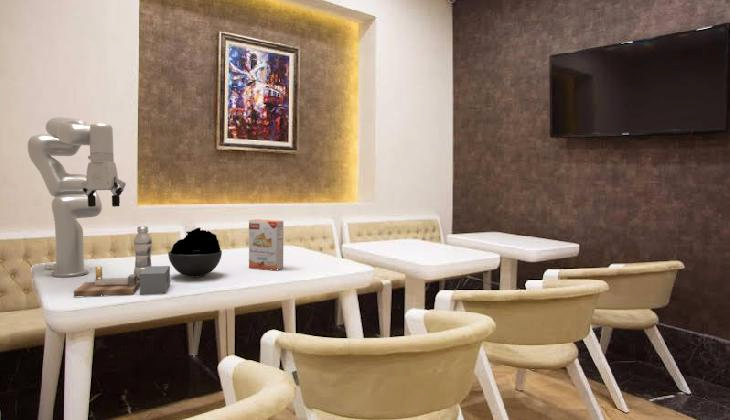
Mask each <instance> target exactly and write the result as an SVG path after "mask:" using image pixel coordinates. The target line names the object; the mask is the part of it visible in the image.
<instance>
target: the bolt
mask: <svg viewBox="0 0 730 420" xmlns="http://www.w3.org/2000/svg"><path fill="white" fill-rule="evenodd" d="M94 282H95V285H102V284H128V277H106V278H103V267H101V266H99V267H98V266H96V267H95V279H94Z"/></svg>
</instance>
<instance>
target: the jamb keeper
mask: <svg viewBox="0 0 730 420" xmlns="http://www.w3.org/2000/svg"><path fill="white" fill-rule="evenodd" d="M139 281H140V287H139V295H164V294H166V293H167V291H168V289H169V288H170V286H171V266H170V265H157V266H156V265H154V266H153V265H151V266H149V267H145V268H144V270H143V271H142V272H141V273H140V279H139Z"/></svg>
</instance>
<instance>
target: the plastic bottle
mask: <svg viewBox="0 0 730 420" xmlns="http://www.w3.org/2000/svg"><path fill="white" fill-rule="evenodd" d="M136 232H137V234H136V236H135V238H134V239H133V245H134V254H135V262H134V269H133V274H137V279H138V280H140V273H141V272H142V271H143V270H144V268H145V267H149V266H152V259H151V258H152V247H153V238H152V237H151V235H150V234H149V227H148V226H137V230H136Z"/></svg>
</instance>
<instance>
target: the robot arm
mask: <svg viewBox="0 0 730 420" xmlns="http://www.w3.org/2000/svg"><path fill="white" fill-rule="evenodd" d="M45 130H46V132H47V134H37V135H33V136H31V137H30V138H29V139H28V141H27V153H28V156H29V159H30V161H31V162H32V164H33V165H34V167H36V169H37V170H38V171H39V174H40V175H41V178H42V179H43V182H44V184H45V187H46V188H47V191H48V193H49V194H50V195H51V196H52V197H54V198H53V199H52V202H51V210H52V215H53V219H54V220H53V221H54V229H55V232H54V234H55V260H56V262H55V263H53V264H45V265H44V270H46V271H52V272H51V276H53V277H54V278H55V277H57V278H70V277H71V278H72V277H80V276H86V275H87V274H89V269H86V268H85V261H84V259H85V258H84V257H85V256H84V254H85V253H84V229H83V226H82V225H81V223H80V222H79V221H78V220H77V219H85V218H94V217H98V216H99V215H100V214H101V213H102V209H103V208H102V207H103V206H102V205H103V203H102V201H101V199H100V196H99V194H98V192H97V191H110V192H111V194H112V195H111V207H114V208H115V207H120V204H121V203H120V202H121V201H120V196H121V195H122V193H123V192H124V189H125V187H126V182H125V181H123V180H122V179H119V176H118V169H117V164H116V162H114V161H115V159H114V155H115V154H114V132H113V126H112V125H111V124H109V123H108V124H107V123H91V124H87V123H86V122H85V121H84V120H83V119H80V118H71V117H61V116H59V117H58V116H56V117H52V118H50V119H49V120H47V122H46V124H45ZM82 146H89V153H90V155H87V159H88V160H90V161H89V162H88V164H87V168H86V174H81V173H68V172H67V170H66V169H65V167H64V165H63V164H62V163H61V162H60V161H59V160H57V159H56V158H54V157H72V156H75V155H76V154H77V153H78V151H79V150H80V148H81V147H82Z"/></svg>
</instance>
